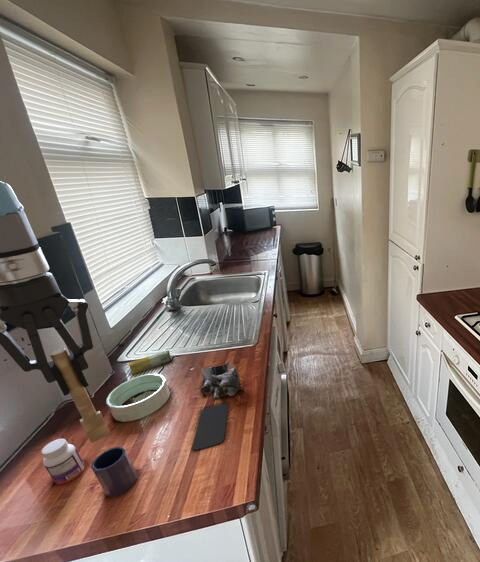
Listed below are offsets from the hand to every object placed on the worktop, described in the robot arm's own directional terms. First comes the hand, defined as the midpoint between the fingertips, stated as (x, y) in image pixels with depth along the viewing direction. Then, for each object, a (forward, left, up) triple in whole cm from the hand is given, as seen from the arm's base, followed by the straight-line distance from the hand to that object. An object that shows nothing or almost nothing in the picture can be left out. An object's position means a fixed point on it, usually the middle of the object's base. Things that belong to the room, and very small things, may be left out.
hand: (75, 387), depth 61 cm
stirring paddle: (0, 0, -13) cm, 13 cm away
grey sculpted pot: (+12, +30, -28) cm, 42 cm away
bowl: (-10, +25, -27) cm, 38 cm away
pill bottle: (-14, +3, -28) cm, 31 cm away
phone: (+15, +14, -27) cm, 34 cm away
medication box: (-18, +44, -28) cm, 55 cm away
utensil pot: (+1, -1, -27) cm, 28 cm away
